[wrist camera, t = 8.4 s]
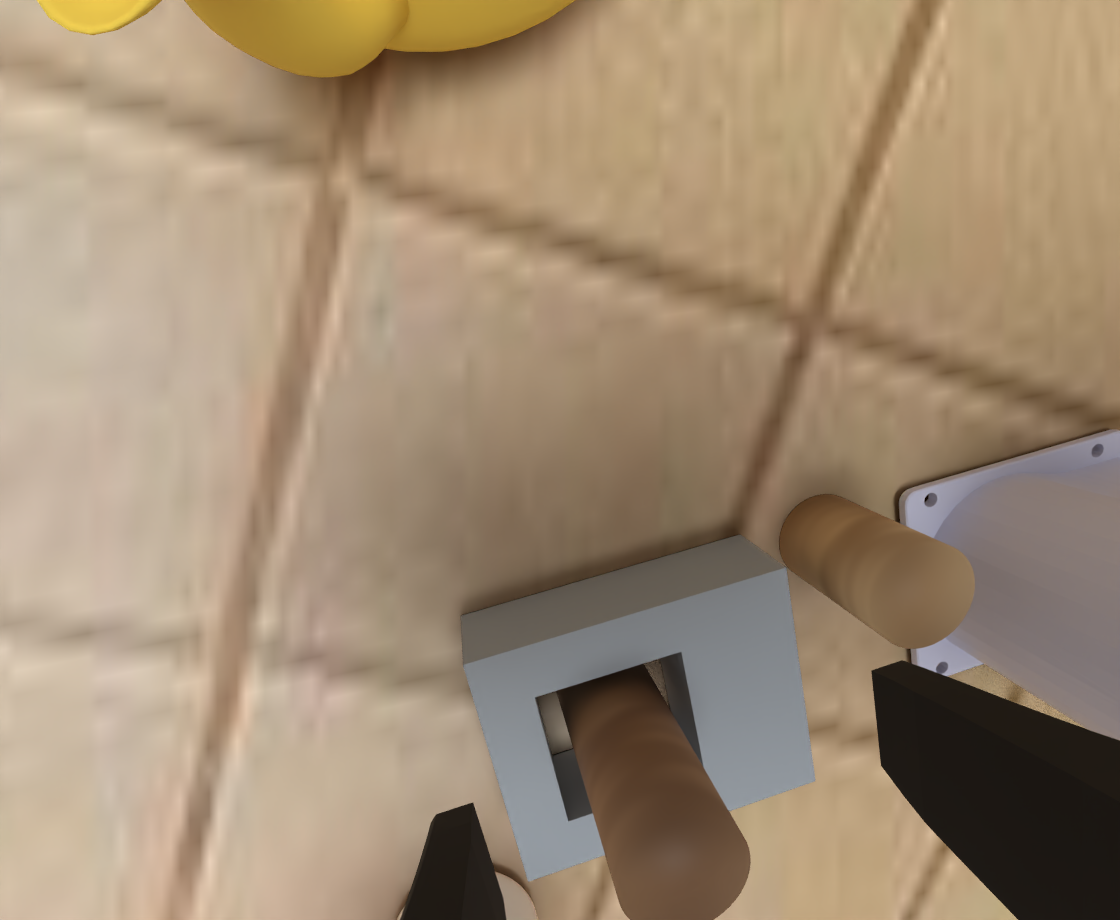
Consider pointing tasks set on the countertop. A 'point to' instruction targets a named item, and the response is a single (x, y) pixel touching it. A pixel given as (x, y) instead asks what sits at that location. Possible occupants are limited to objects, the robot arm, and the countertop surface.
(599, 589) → the socket block
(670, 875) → the walnut dowel
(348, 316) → the countertop surface
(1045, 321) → the countertop surface
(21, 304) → the countertop surface
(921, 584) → the oak stub
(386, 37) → the teapot
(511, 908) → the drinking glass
